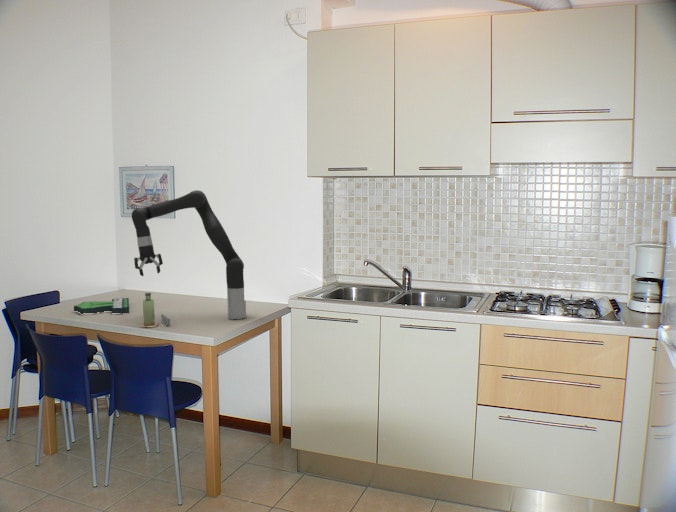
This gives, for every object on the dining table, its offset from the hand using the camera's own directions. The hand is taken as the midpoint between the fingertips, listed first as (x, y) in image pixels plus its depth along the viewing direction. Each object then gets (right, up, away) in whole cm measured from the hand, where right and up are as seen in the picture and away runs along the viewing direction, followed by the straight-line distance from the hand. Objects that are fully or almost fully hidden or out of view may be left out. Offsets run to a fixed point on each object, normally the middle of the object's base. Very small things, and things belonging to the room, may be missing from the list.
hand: (150, 274), depth 306 cm
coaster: (+3, -27, -10) cm, 29 cm away
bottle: (+3, -26, -10) cm, 28 cm away
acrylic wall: (+10, -26, -6) cm, 29 cm away
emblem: (-38, -23, +27) cm, 51 cm away
